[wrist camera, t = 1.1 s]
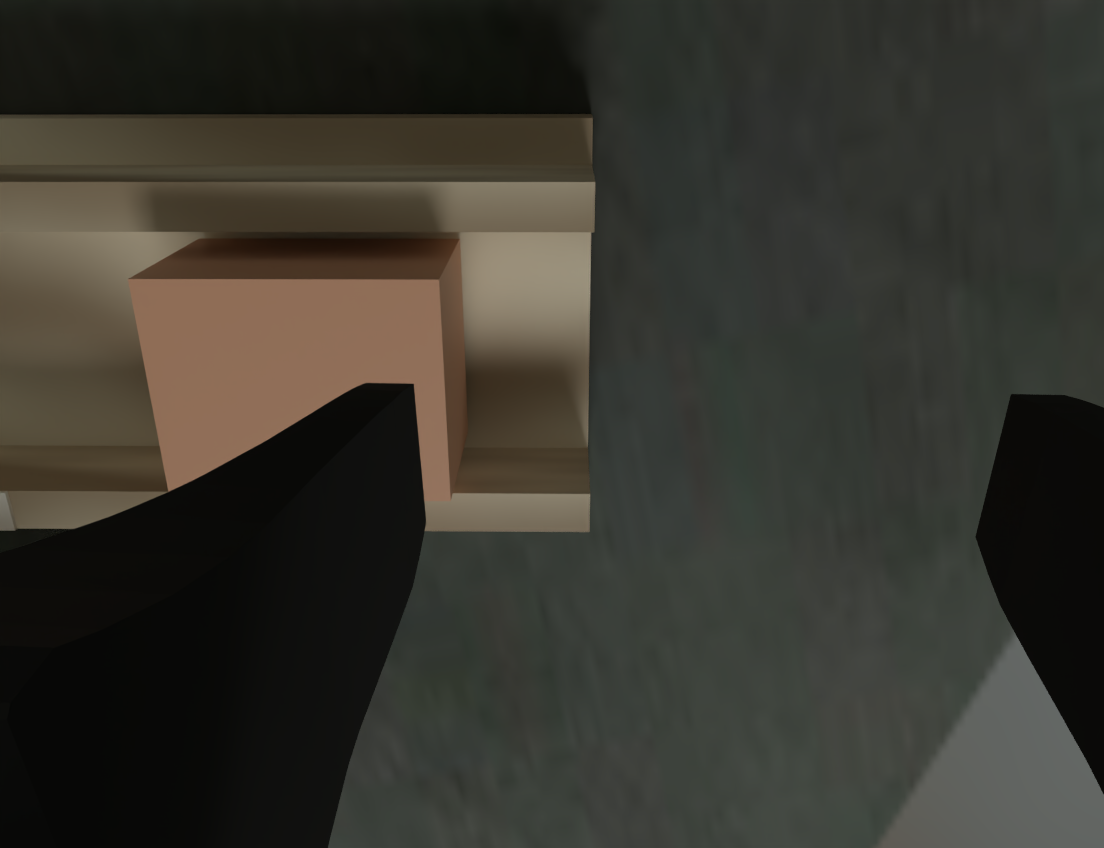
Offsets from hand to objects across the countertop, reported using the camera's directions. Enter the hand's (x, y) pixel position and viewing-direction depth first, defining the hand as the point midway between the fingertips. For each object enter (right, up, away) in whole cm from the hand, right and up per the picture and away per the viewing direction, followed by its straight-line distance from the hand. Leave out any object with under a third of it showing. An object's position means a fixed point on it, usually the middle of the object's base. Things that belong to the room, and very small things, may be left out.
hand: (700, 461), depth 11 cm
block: (-7, +3, +11) cm, 13 cm away
